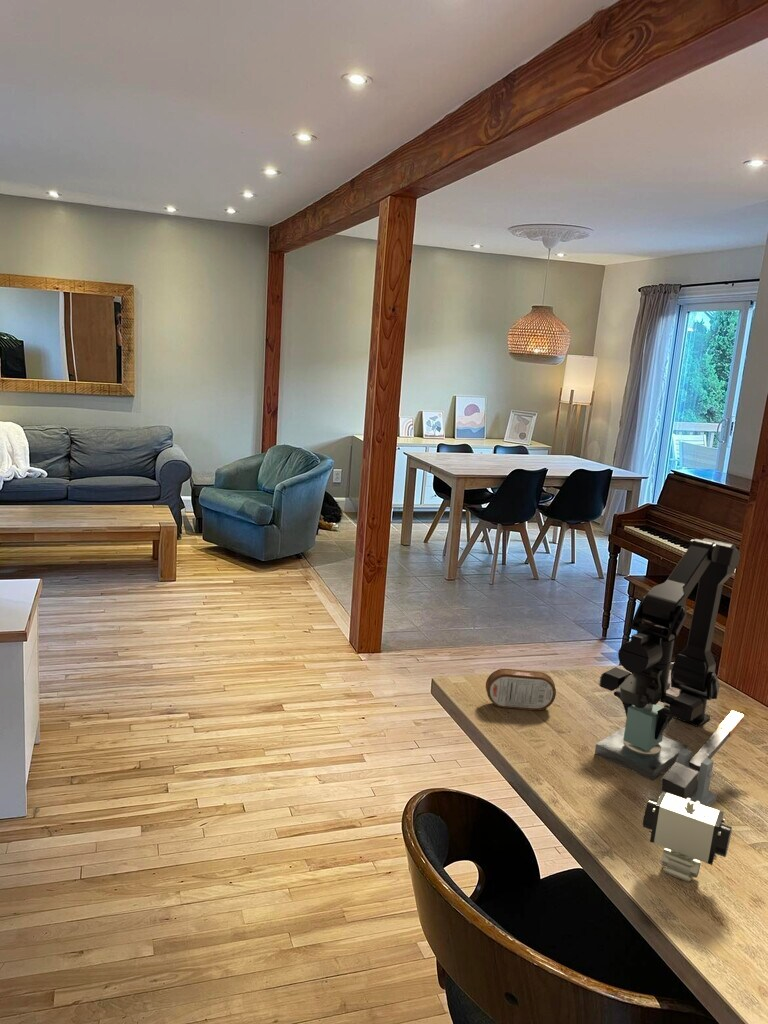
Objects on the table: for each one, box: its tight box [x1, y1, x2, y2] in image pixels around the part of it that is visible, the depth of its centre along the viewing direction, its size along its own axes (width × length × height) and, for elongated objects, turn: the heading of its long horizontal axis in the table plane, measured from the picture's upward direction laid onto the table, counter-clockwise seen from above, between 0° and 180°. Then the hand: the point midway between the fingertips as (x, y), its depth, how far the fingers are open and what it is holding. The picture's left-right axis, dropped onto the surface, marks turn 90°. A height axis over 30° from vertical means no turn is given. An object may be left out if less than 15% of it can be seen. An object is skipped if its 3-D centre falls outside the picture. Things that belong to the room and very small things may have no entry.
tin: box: [485, 668, 557, 711], centre depth 166 cm, size 15×3×8 cm, turn 87°
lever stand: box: [676, 748, 718, 807], centre depth 136 cm, size 6×7×8 cm
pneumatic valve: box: [642, 790, 733, 883], centre depth 115 cm, size 6×12×12 cm, turn 58°
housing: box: [623, 703, 664, 751], centre depth 149 cm, size 6×5×9 cm
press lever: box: [661, 710, 745, 799], centre depth 138 cm, size 26×4×4 cm, turn 134°
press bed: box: [594, 726, 689, 781], centre depth 150 cm, size 14×12×2 cm
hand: (643, 733), depth 149 cm, fingers closed on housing, 5 cm apart
